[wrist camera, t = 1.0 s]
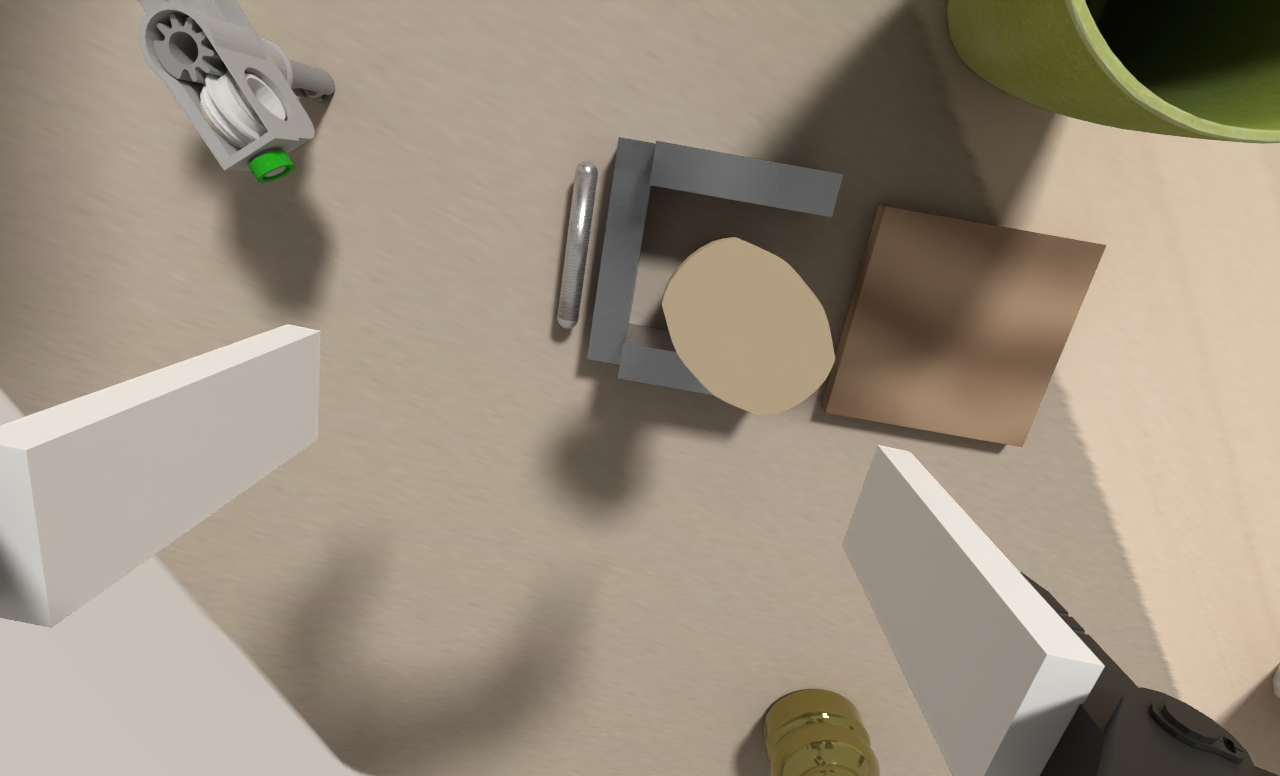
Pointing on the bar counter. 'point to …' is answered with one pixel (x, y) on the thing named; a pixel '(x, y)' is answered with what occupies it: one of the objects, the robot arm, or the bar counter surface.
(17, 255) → the bar counter surface
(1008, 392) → the walnut board
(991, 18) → the flower pot
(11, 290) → the bar counter surface
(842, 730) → the olive glossy bulbous piece
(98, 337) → the bar counter surface
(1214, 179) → the bar counter surface
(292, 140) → the mechanical component
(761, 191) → the vise
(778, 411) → the handle
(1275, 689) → the coffee cup
